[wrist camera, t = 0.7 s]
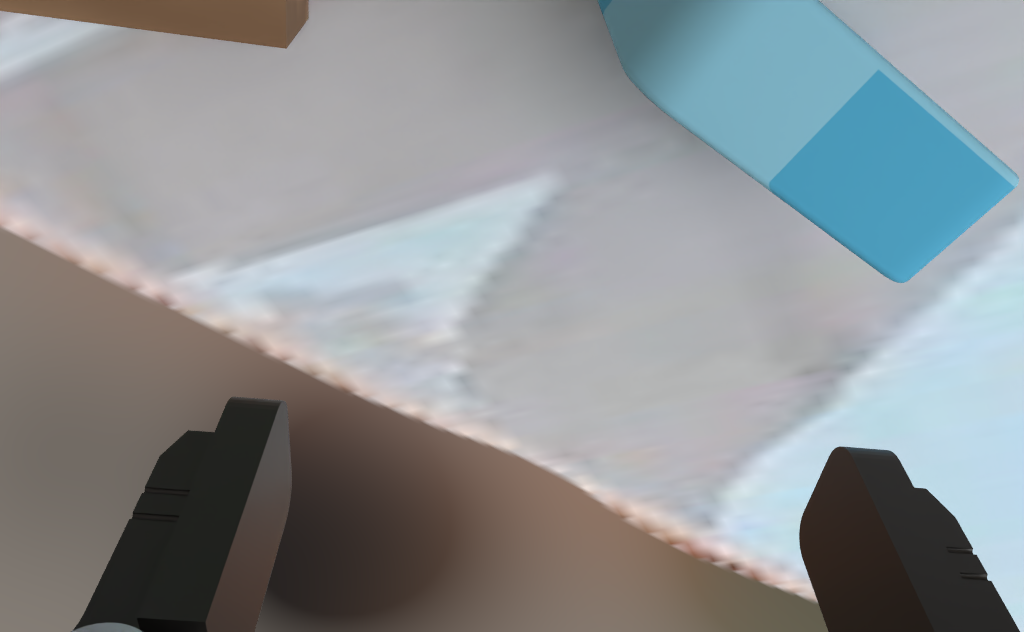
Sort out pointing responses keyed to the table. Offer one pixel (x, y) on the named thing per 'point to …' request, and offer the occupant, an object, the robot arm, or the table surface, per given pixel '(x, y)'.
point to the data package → (814, 121)
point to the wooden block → (183, 16)
